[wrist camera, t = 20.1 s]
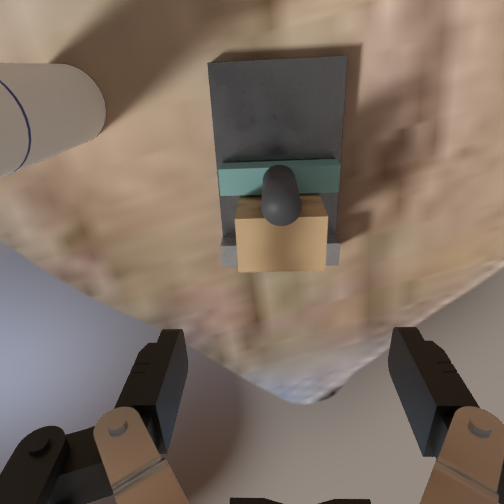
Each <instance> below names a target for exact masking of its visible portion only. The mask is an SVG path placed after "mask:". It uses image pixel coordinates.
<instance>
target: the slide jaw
mask: <svg viewBox="0 0 504 504" xmlns="http://www.w3.org/2000/svg"><path fill="white" fill-rule="evenodd" d="M340 171H341V165H340V163H339V162H338V161H337V159H319V160H291V161H264V162H236V163H221V164H220V167H219V169H218V175H219V186H220V196H238V195H262V205H261V209H262V214H263V216H264V218H265V219H266V220H267V221H268V222H269V223H271V224H273V225H276V226H286V225H289V224H292V223H293V222H294V221H296V220H297V219H298V217H299V216H300V214H301V210H302V203H301V199H300V195H299V194H302V193H334V192H339V186H340Z"/></svg>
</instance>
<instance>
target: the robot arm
mask: <svg viewBox="0 0 504 504" xmlns="http://www.w3.org/2000/svg"><path fill="white" fill-rule="evenodd" d="M388 367H389V372H390V375H391V378H392V380H393V383H394V385H395V388H396V390H397V393H398V396H399V398H400V400H401V403H402V405H403V408H404V410H405V413H406V415H407V418H408V420H409V423H410V425H411V428H412V430H413V433H414V435H415V437H416V440H417V443H418V445H419V448H420V450H421V453H422V455H423V457H436V462H435V465H434V467H433V470H432V472H431V475H430V478H429V481H428V483H427V486H426V488H425V491H424V494H423V496H422V499H421V502H420V504H498V503H499V504H504V424H503V423H502V422H501V421H500V420H499V419H498V418H497V417H495V416H494V415H493V414H491V413H489V412H488V411H486V410H483V409H481V408H480V407H479V406H478V404H477V402H476V401H475V399H474V398H473V396H472V394H471V393H470V391H469V390H468V388H467V387H466V385H465V383H464V382H463V380H462V378H461V377H460V375H459V374H458V373H457V370H456V369H455V367H454V366H453V364H451V361H450V359H449V358H448V356H447V354H446V353H445V351H444V350H443V349H442V348H440V347H439V346H438V345H436V344H435V343H434V342H433V341H425V340H424V339H423V337H422V335H421V334H420V332H419V330H418V329H417V328H416V327H395V328H394V329H393V333H392V339H391V345H390V350H389V357H388ZM187 373H188V357H187V351H186V344H185V338H184V332H183V330H182V329H163V330H162V331H161V333H160V336H159V339H158V341H157V343H148V344H147V345H146V346H145V347H144V348H143V349H142V350H141V351H140V352H139V354H138V356H137V358H136V360H135V363H134V365H133V367H132V369H131V372H130V374H129V376H128V378H127V381H126V383H125V385H124V387H123V390H122V392H121V394H120V396H119V399H118V401H117V403H116V406H115V408H114V409H112V410H110V411H109V412H107V413H106V414H104V415H103V416H102V417H101V418H100V419H99V420H98V422H97V423H96V425H95V426H93V427H91V428H88V429H85V430H81V431H78V432H74V433H71V434H67V435H65V433H64V431H63V430H62V429H61V428H59V427H57V426H46V427H42V428H40V429H37V430H35V431H33V432H32V433H30V434H29V435H27V436H26V437H25V438H24V439H23V440H22V441H21V442H20V443H19V444H18V446H17V447H16V449H15V450H14V452H13V454H12V456H11V457H10V459H9V461H8V462H7V464H6V466H5V467H4V469H3V471H2V472H1V474H0V504H87V503H90V502H93V501H96V500H99V499H101V498H105V497H108V496H111V495H114V496H115V499H116V502H117V504H189V503H188V501H187V499H186V497H185V495H184V493H183V491H182V490H181V487H180V486H179V484H178V482H177V480H176V478H175V476H174V474H173V472H172V470H171V468H170V466H169V465H168V463H167V461H166V460H165V458H163V459H162V458H161V456H160V454H167V452H168V448H169V444H170V440H171V436H172V432H173V429H174V424H175V420H176V417H177V413H178V409H179V405H180V401H181V397H182V393H183V389H184V385H185V381H186V377H187ZM230 504H282V503H279V502H275V501H272V500H269V499H265V498H230ZM319 504H371V502H370V499H333V500H330V501H326V502H322V503H319Z"/></svg>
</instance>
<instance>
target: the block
mask: <svg viewBox="0 0 504 504" xmlns="http://www.w3.org/2000/svg"><path fill="white" fill-rule="evenodd" d="M299 195H300V199H301V203H302V210H301V214H300V216H299V217H298V219H297V220H296V221H294V222H293V223H292V224H289V225H286V226H276V225H273V224H271V223H269V222H268V221H267V220H266V219H265V218H264V216H263V214H262V209H261V205H262V195H240V197H239V202H238V206H237V211H236V215H235V230H236V244H237V257H238V271H239V272H282V271H325V267H326V248H327V229H328V215H327V212H326V210H325V207H324V205H323V202H322V200H321V197H320V195H319V193H302V194H299Z"/></svg>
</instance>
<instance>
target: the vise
mask: <svg viewBox="0 0 504 504" xmlns="http://www.w3.org/2000/svg"><path fill="white" fill-rule="evenodd" d="M347 57H348V55H347V56H328V57H309V58H289V59H270V60H251V61H232V62H212V63H208V74H209V85H210V96H211V107H212V118H213V130H214V141H215V152H216V163H217V174H218V169H219V167H220V164H221V163H236V162H264V161H291V160H319V159H337V161H338V162H339V163H340V164H341V149H342V133H343V118H344V103H345V87H346V72H347ZM218 186H219V175H218ZM319 195H320V197H321V200H322V202H323V205H324V207H325V210H326V212H327V215H328V229H327V248H326V266H328V265H339V253H340V242H339V239H338V237H337V234H336V226H337V210H338V195H339V192H334V193H319ZM219 197H220V208H221V219H222V230H223V238H222V242H221V245H220V249H221V259H222V268H230V267H238V257H237V244H236V230H235V215H236V211H237V206H238V202H239V197H240V195H238V196H220V186H219Z"/></svg>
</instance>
